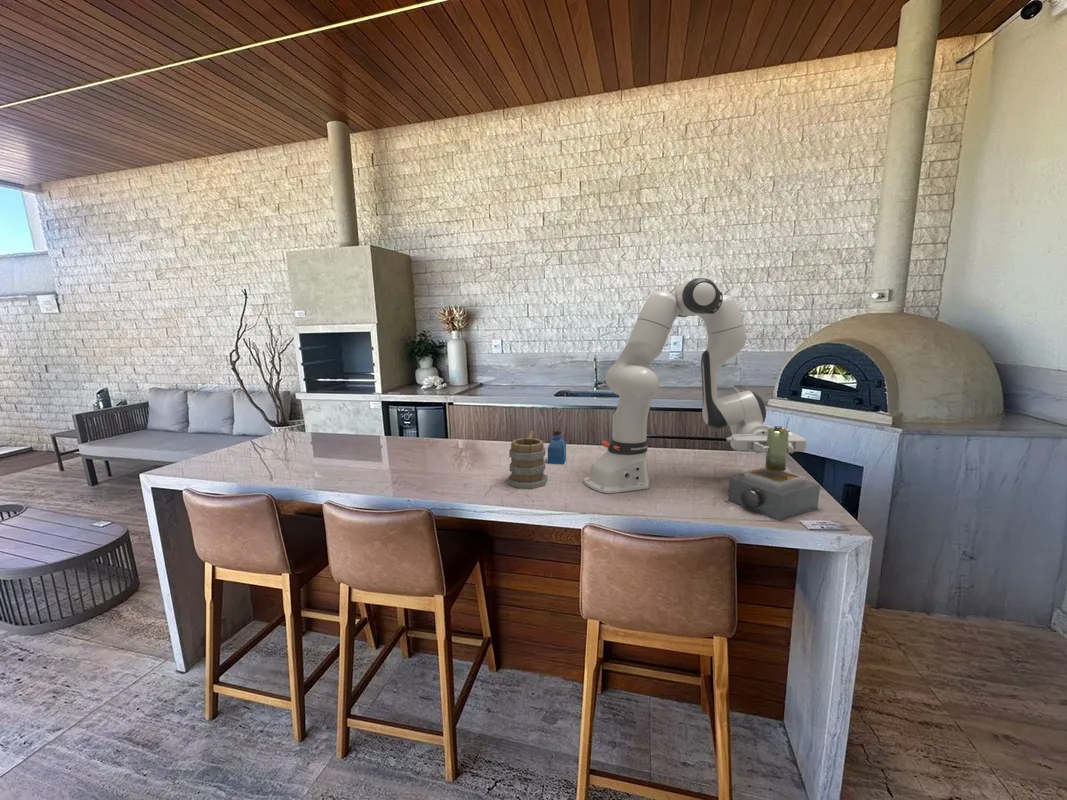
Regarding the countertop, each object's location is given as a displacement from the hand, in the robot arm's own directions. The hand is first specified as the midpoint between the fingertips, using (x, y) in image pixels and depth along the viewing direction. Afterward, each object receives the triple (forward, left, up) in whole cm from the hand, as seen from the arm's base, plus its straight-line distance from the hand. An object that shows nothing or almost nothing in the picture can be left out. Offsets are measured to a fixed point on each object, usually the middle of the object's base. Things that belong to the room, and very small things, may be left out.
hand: (778, 450), depth 123 cm
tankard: (-51, +55, -17) cm, 76 cm away
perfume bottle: (-33, +67, -17) cm, 76 cm away
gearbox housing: (0, +1, -16) cm, 16 cm away
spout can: (+1, +1, -5) cm, 6 cm away
